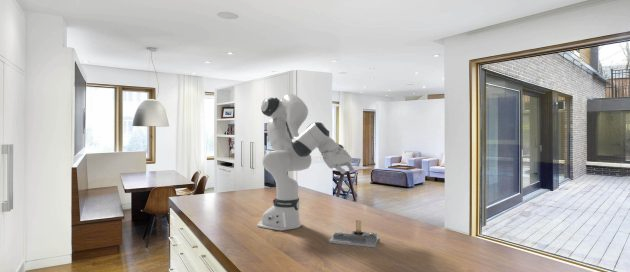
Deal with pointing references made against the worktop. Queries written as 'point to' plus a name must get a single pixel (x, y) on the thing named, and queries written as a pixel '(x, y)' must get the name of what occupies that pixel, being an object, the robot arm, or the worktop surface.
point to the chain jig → (355, 239)
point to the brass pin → (358, 227)
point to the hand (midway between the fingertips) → (348, 171)
